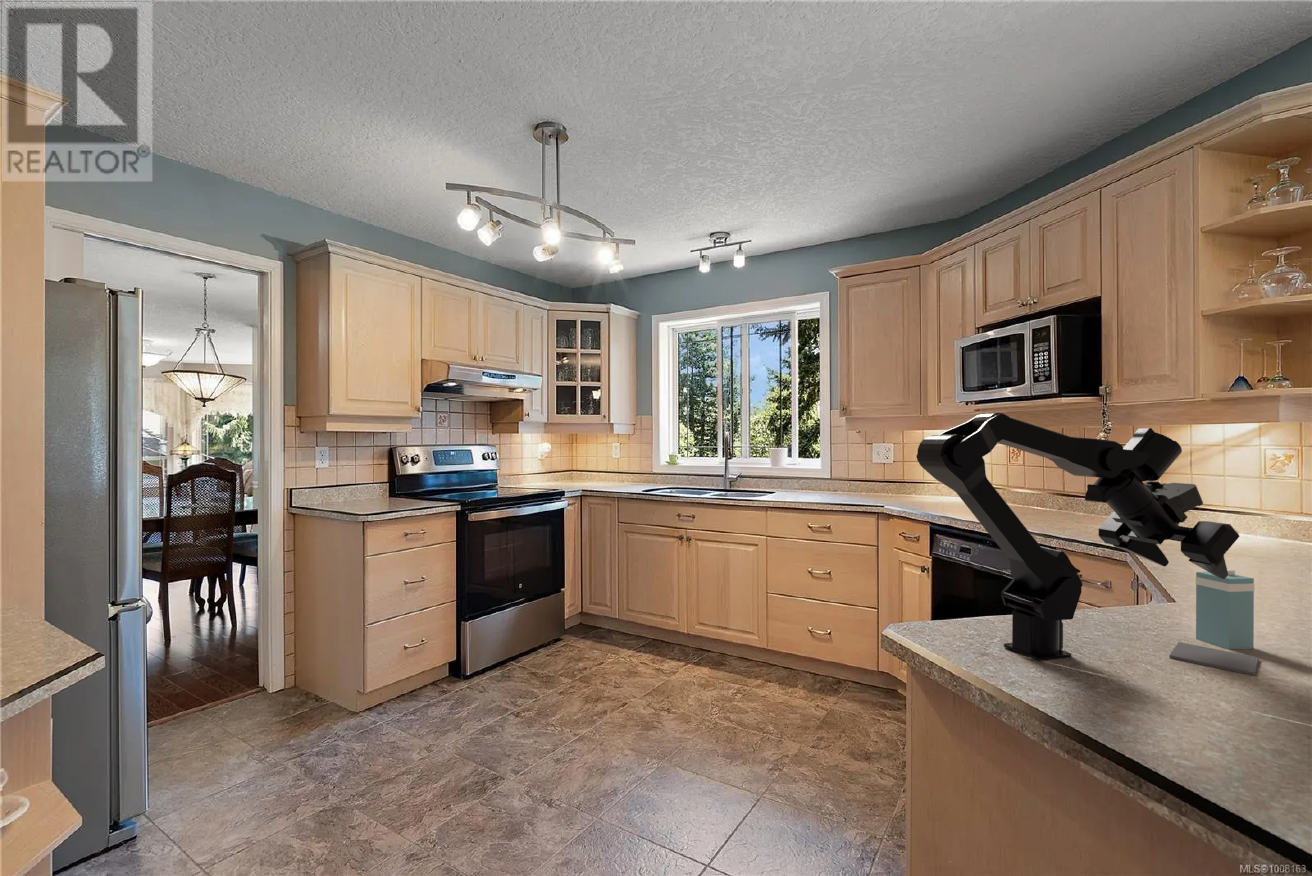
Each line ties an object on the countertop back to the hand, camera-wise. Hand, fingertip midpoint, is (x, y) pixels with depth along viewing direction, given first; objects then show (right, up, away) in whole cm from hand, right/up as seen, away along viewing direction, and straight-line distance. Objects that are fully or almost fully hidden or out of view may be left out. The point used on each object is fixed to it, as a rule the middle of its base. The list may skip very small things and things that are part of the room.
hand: (1194, 570), depth 96 cm
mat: (-3, -12, -6) cm, 14 cm away
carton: (+5, -12, +1) cm, 13 cm away
